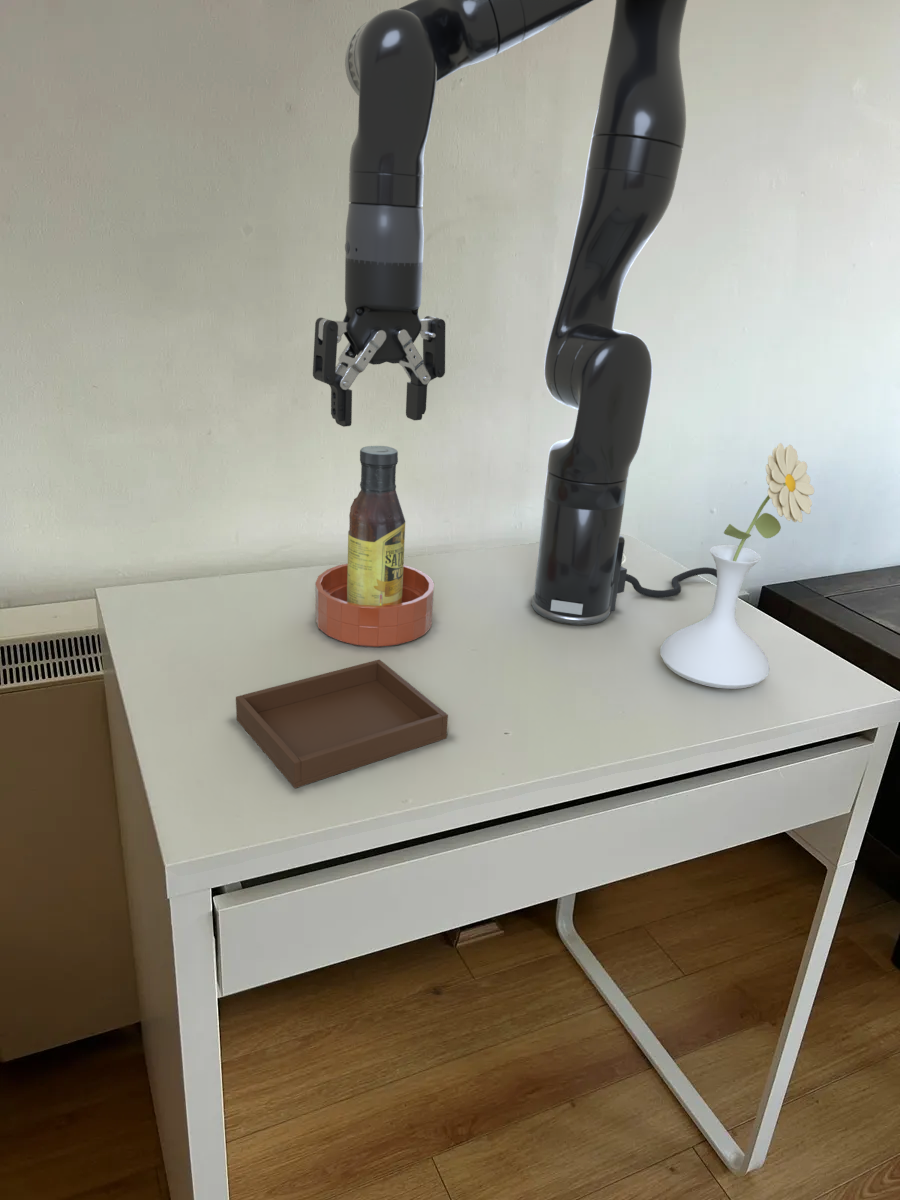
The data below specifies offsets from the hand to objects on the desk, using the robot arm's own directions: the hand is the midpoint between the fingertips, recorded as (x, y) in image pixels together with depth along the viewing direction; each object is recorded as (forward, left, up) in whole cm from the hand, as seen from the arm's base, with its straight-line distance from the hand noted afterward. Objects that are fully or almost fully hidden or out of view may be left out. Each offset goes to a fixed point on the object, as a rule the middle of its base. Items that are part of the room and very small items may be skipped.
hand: (379, 421), depth 94 cm
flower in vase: (-27, +28, -24) cm, 45 cm away
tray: (+14, +18, -23) cm, 33 cm away
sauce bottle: (0, 0, -23) cm, 23 cm away
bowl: (0, 0, -23) cm, 23 cm away
